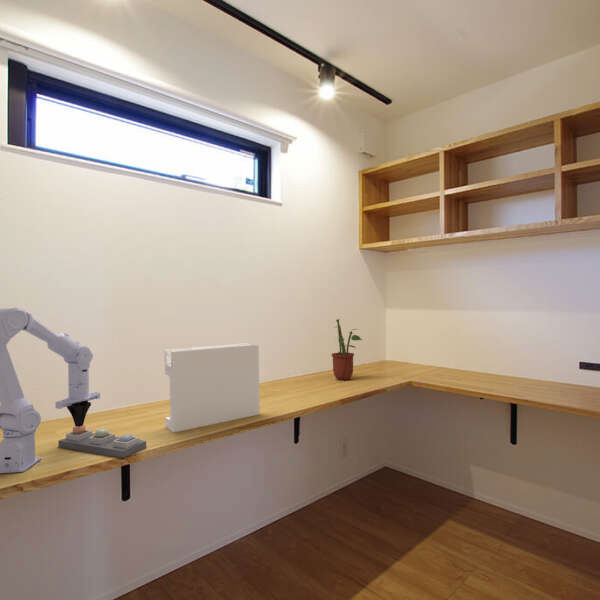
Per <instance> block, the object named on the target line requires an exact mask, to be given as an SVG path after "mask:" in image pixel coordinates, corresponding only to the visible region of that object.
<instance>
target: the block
mask: <svg viewBox="0 0 600 600" xmlns="http://www.w3.org/2000/svg"><path fill="white" fill-rule="evenodd" d="M259 348H260V347H259V343H256V344H250V343H249V342H248V343H236V344H235V343H233V344H224V345H223V344H221V345H211V346H209V345H208V346H197V347H186V348H185V347H184V348H174V349H173V348H172V349H164V375H166V376H168V377H169V378H168V379H169V407H170V408H169V412H170V415H169V416H166V417H165V418H164V419H165V423H164V424H165V428H166V429H168V430H169V431H171V432H172V433H177V432H182V431H187V430H192V429H196V428H200V427H201V428H202V427H205V426H206V427H207V426H211V425H216V424H220V423H221V424H222V423H225V422H230V421H234V420H239V419H244V418H249V417H253V416H257V415H259V416H260V413H261V412H260V366H259V365H260V363H259V362H260V359H259V356H260V355H259V352H260V351H259Z"/></svg>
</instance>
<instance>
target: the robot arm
mask: <svg viewBox="0 0 600 600" xmlns="http://www.w3.org/2000/svg"><path fill="white" fill-rule="evenodd" d="M21 331H24V332H26V333H28V334H30V335H32V336H34V337H36V338H37V339H40V340H41V341H44V342H45V343H47V348H48V350H50V351H51V352H53V353H54V354H57V355H59V356H60V357H62V358H63V360H64V362H65V363H67V364H68V366H67V369H68V377H67V378H68V381H67V382H68V397H66V398H64V399H62V400H61V399H60V400H58V401H55V409H56V410H57V409H63V408H66V409H67V410H68V412H69V413H70V415H71V417H72V419H73V423H74V427H75V426H78V427H80V426H83V425H84V423H85V421H86V420H85V419H86V416H87V413H88V411H89V409H90V408H91V406H92V403H91V401H94V400H99V399H101V393H100V392H91V393H90V389H89V388H90V384H89V383H90V382H89V381H90V380H89V379H90V375H89V374H90V371H89V369H90V367H91V365H90V364H91V361H92V360H93V357H94V354H93V353H92V351H91V349H90V348H89V347H87V346H82V345H81V344H80V342H79V341H75V340H73V339H72V338H70V337H69V336H70V335H69V334H68V333H63V332H58V333H55V332H54V331H52V330H51V329H49V328H48V327H47V326H45V325H44V324H43V323H42V322H40V321H39V320H37V319H36V318H35V317H34V316H33V315H32V314H31V313H29V312H26V310H24V309H22V308H20V307H11V308H10V307H9V308H0V430H2V440H1V442H0V474H6V473H7V474H8V473H9V474H10V473H22V472H23V473H24V472H26V471H28V469H30V468H31V467H32V466H34V465H35V464H36V463H38V462H39V461H40V460H42V459H43V458H42V456H36V431H37V429H38V428H39V426H40V425H41V421H42V418H41V417H42V416H41V414H40V412H38V411H37V410H36V409H35V408H34V405H33V404H32V402H30V401H29V400H28V399H27V398H26V397H25V395H24V393H23V389H22V386H21V384H20V380H19V378H18V375H17V372H16V370H15V367H14V364H13V361H12V359H11V355H10V353H9V350H8V347H7V346H8V343H9V342H10V341H11V340H12V338H14V337H15V336H16V335H17V334H19V333H20V332H21Z"/></svg>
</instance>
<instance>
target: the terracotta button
mask: <svg viewBox="0 0 600 600" xmlns="http://www.w3.org/2000/svg"><path fill="white" fill-rule="evenodd" d="M85 430H86V425H84V424H83V426H80V427H78V426H75V425H74V426H73V427H72V432H73V433H74V434H77V433H83V432H85Z"/></svg>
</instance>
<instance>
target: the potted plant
mask: <svg viewBox="0 0 600 600" xmlns="http://www.w3.org/2000/svg"><path fill="white" fill-rule="evenodd" d="M335 322H336V324H337V326H335V327H334V329H335V328H337V333H338V338H337V337H335V338H334V340H336V339H337V340H338V341H337V342H338V343H339V344H338V346H339V351H337V352H332V353H331V357H332V371H333V376H334V377H335V378H336V379H337V380H338V381H348V380H350V379H351V378H352V376H353V373H354V357H355V353H353V352H349V347H351V348H354V349H356V346H355V345H350V342H351V341H356V342H357V341H363V339H362V338H361V337H360V335H356V334H353V331H354V330H358V331H359V329H357V328H353V329H352V330H350V332H348V333H349V335H348V340H347V344H345V338H344V337H343V335H342V329H341V325H340V319H339V318H338V319H336V321H335Z"/></svg>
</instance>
